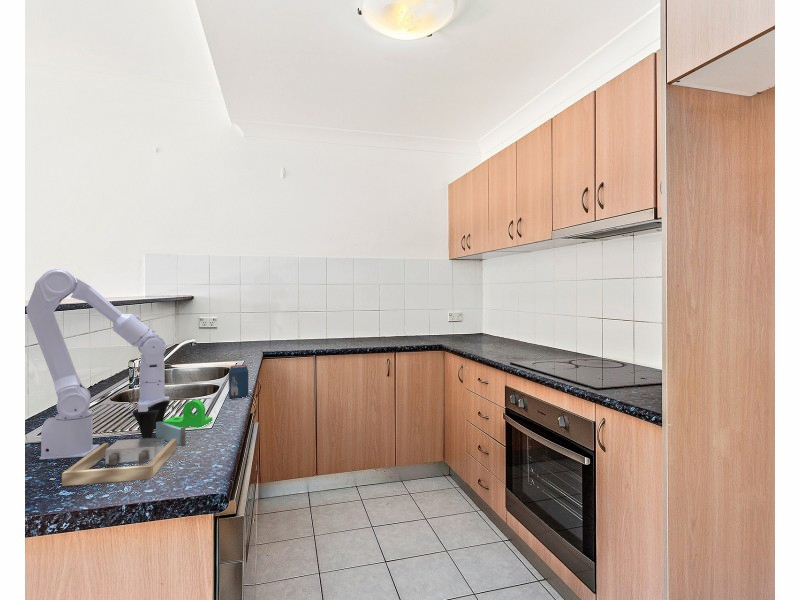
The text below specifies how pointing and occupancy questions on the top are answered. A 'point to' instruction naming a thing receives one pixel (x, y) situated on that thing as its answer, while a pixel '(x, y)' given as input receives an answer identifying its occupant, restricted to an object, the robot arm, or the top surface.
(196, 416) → the mechanical part
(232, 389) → the dark blue carton
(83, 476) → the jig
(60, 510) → the top surface
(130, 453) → the block
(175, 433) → the bar
